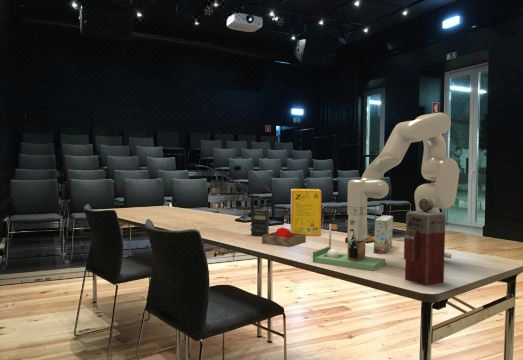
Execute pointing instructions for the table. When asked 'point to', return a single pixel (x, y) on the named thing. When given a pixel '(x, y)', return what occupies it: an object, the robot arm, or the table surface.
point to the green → (346, 258)
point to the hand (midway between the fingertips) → (356, 256)
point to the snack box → (383, 234)
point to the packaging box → (306, 211)
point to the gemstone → (283, 233)
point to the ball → (332, 253)
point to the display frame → (284, 239)
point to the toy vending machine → (424, 245)
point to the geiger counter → (259, 223)
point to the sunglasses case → (367, 240)
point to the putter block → (359, 251)
